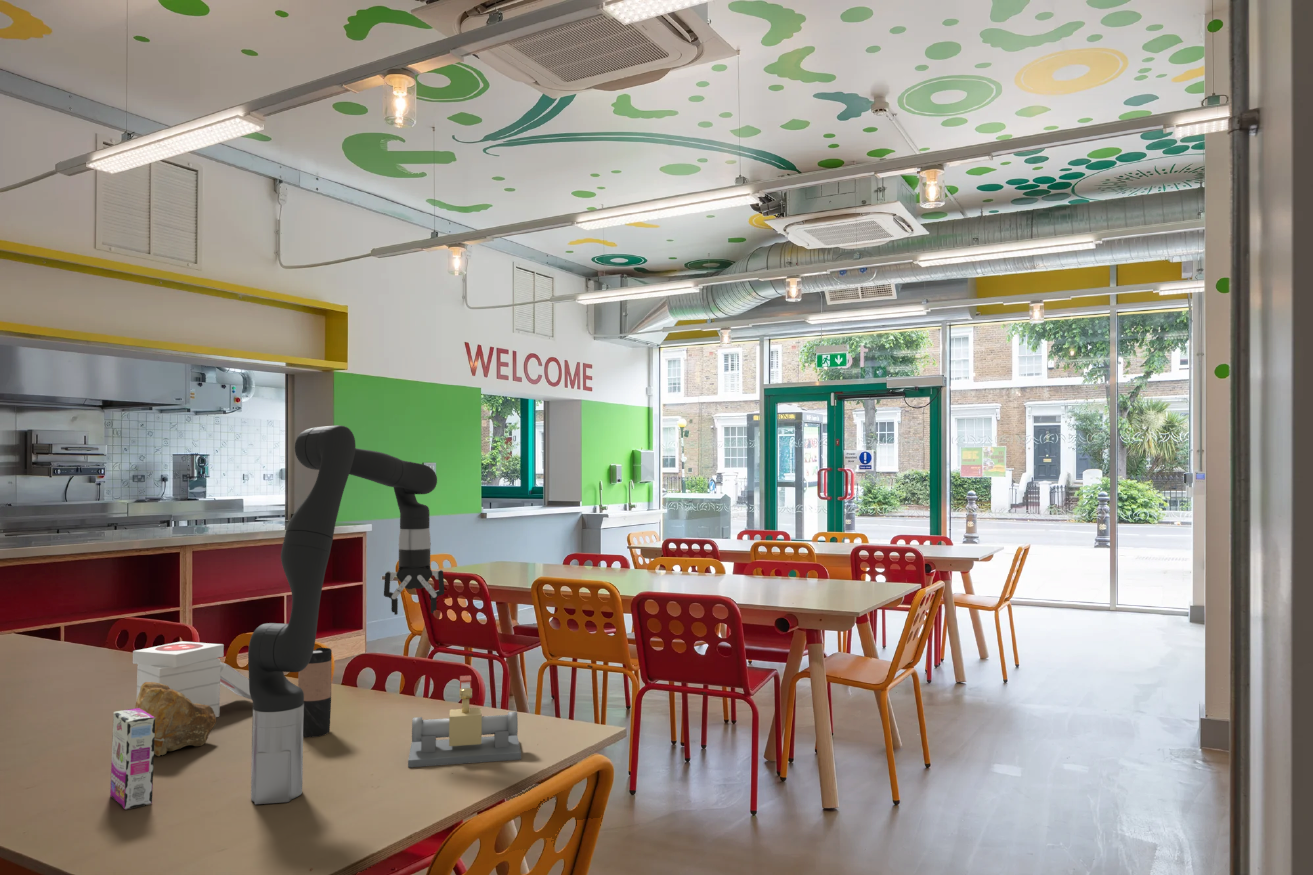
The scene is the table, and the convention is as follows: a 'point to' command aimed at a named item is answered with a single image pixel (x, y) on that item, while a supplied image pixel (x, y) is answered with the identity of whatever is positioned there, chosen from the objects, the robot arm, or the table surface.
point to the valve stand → (464, 738)
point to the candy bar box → (132, 758)
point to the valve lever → (465, 687)
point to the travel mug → (317, 693)
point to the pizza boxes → (190, 671)
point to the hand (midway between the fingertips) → (414, 613)
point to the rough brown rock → (175, 717)
